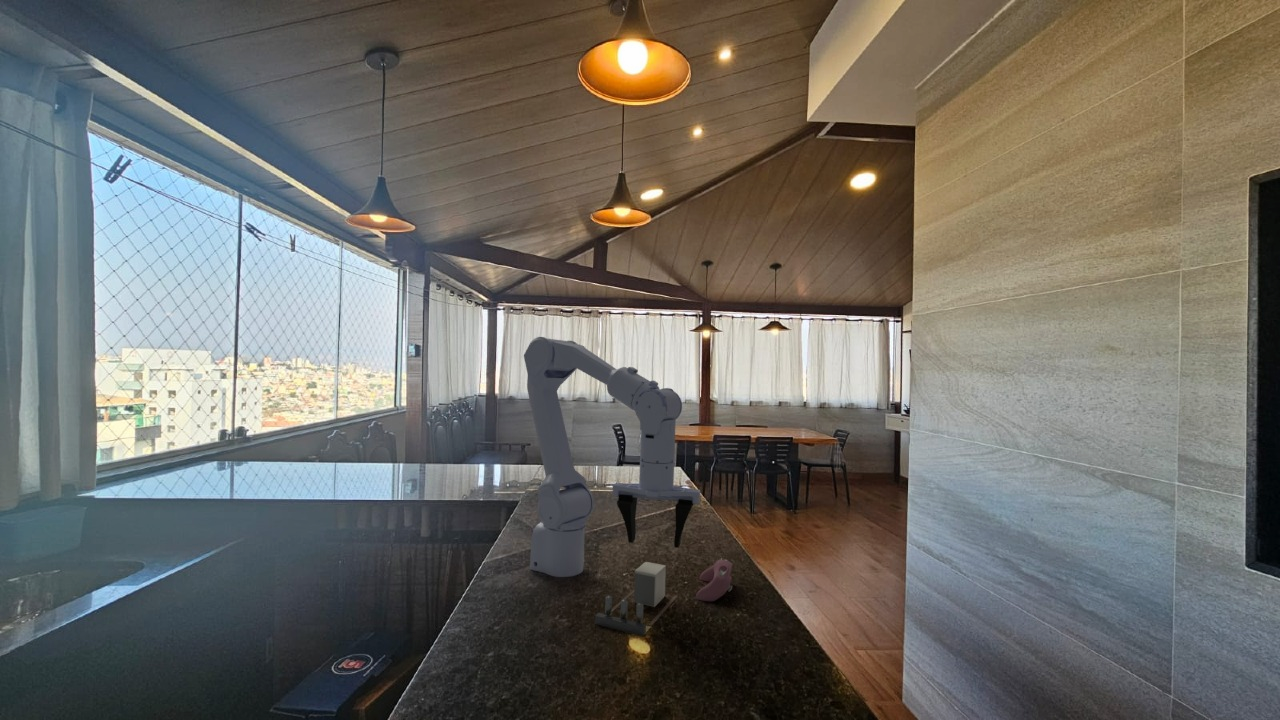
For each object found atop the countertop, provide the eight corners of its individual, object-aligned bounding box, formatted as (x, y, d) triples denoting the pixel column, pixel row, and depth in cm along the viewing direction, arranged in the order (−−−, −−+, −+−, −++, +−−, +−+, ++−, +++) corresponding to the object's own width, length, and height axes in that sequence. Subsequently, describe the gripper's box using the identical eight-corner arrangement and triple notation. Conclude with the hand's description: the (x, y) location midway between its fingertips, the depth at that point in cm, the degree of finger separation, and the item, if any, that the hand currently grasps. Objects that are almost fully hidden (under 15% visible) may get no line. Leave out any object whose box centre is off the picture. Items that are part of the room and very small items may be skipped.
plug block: (633, 602, 80) (634, 570, 81) (644, 591, 85) (645, 561, 85) (654, 607, 79) (655, 575, 79) (664, 596, 83) (665, 565, 84)
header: (594, 624, 73) (595, 599, 73) (601, 617, 75) (602, 593, 75) (642, 636, 70) (643, 610, 70) (648, 629, 72) (649, 604, 72)
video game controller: (717, 617, 81) (738, 580, 81) (692, 601, 82) (713, 565, 82) (719, 593, 91) (738, 560, 91) (697, 579, 92) (715, 546, 92)
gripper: (608, 461, 82) (605, 546, 81) (698, 467, 79) (695, 556, 78) (619, 455, 89) (616, 533, 88) (702, 461, 86) (699, 542, 85)
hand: (654, 543), depth 84 cm, fingers open, 7 cm apart
